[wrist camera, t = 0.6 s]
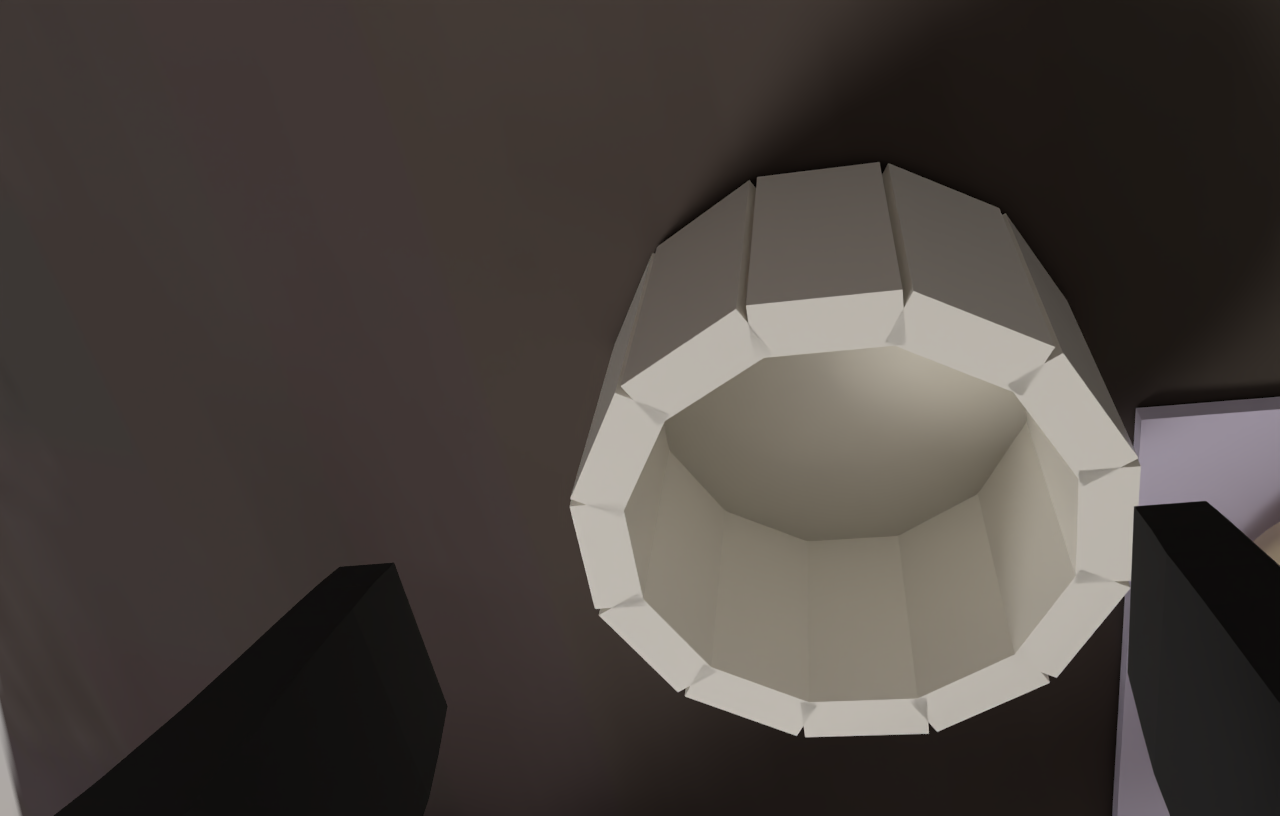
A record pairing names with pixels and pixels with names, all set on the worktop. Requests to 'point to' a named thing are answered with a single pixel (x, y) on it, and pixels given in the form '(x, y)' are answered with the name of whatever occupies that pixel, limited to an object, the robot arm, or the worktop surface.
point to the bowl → (854, 461)
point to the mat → (1190, 472)
